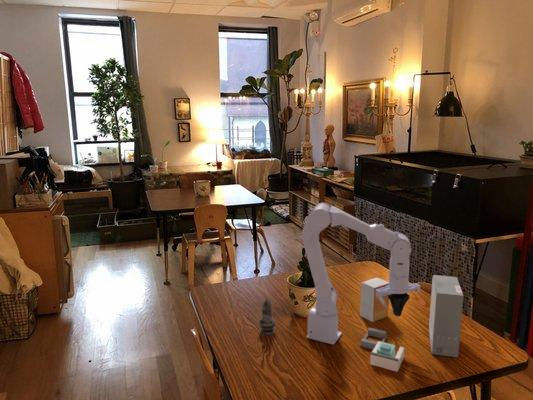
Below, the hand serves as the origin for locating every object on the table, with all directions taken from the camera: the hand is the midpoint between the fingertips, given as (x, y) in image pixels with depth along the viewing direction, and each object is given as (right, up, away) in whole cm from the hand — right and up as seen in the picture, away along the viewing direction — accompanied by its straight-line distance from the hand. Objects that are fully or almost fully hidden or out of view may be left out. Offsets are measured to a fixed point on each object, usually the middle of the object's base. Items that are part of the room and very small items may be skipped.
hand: (397, 314), depth 133 cm
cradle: (-6, -10, +3) cm, 12 cm away
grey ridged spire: (-41, -9, +11) cm, 43 cm away
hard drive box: (+15, -10, +2) cm, 18 cm away
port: (-5, -12, -6) cm, 14 cm away
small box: (-2, -6, +20) cm, 21 cm away
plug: (-6, -12, -7) cm, 15 cm away
